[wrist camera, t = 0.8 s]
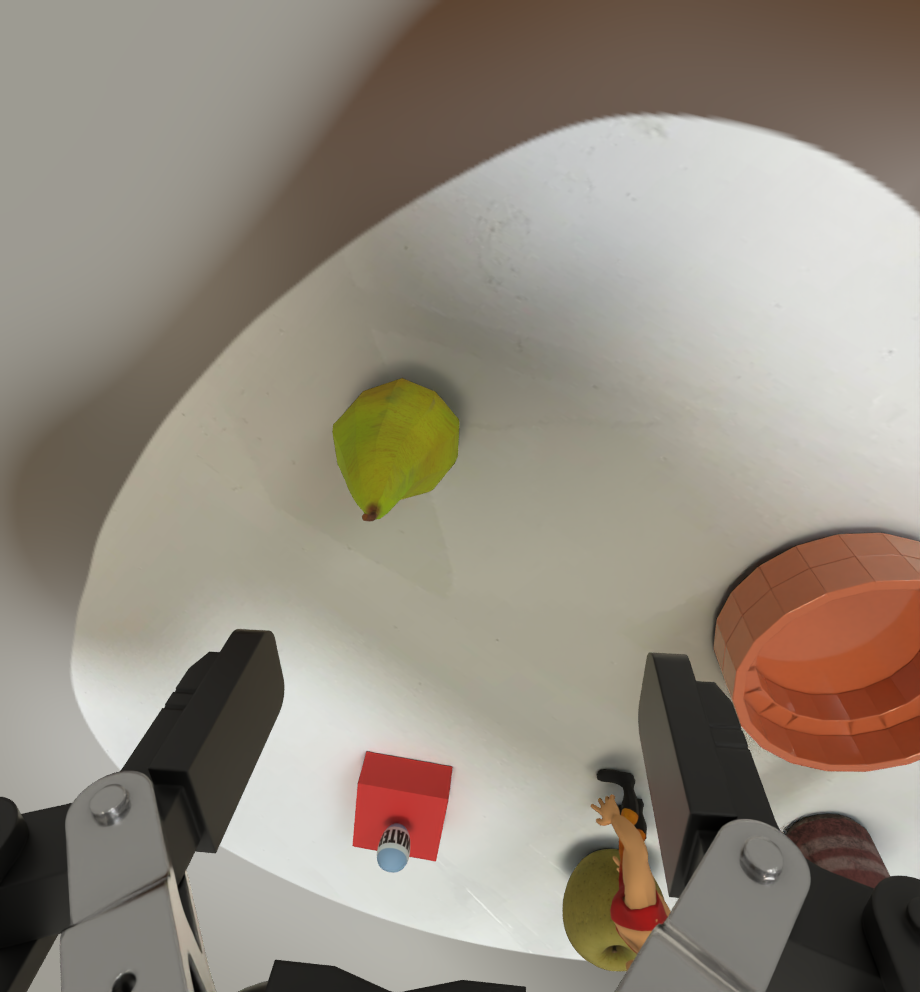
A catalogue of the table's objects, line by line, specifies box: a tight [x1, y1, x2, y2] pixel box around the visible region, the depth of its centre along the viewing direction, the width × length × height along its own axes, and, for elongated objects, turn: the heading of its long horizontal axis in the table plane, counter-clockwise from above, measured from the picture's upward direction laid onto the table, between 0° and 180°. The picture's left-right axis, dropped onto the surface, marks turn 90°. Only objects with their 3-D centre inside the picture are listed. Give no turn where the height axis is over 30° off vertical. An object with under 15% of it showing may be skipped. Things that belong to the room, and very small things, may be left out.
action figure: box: [591, 769, 671, 970], centre depth 41 cm, size 10×4×15 cm, turn 21°
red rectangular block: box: [353, 752, 452, 872], centre depth 48 cm, size 8×7×6 cm
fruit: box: [332, 378, 459, 521], centre depth 30 cm, size 6×6×12 cm
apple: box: [563, 849, 664, 971], centre depth 49 cm, size 8×8×7 cm
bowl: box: [714, 533, 920, 772], centre depth 36 cm, size 14×14×5 cm
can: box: [786, 814, 890, 888], centre depth 42 cm, size 6×6×14 cm
